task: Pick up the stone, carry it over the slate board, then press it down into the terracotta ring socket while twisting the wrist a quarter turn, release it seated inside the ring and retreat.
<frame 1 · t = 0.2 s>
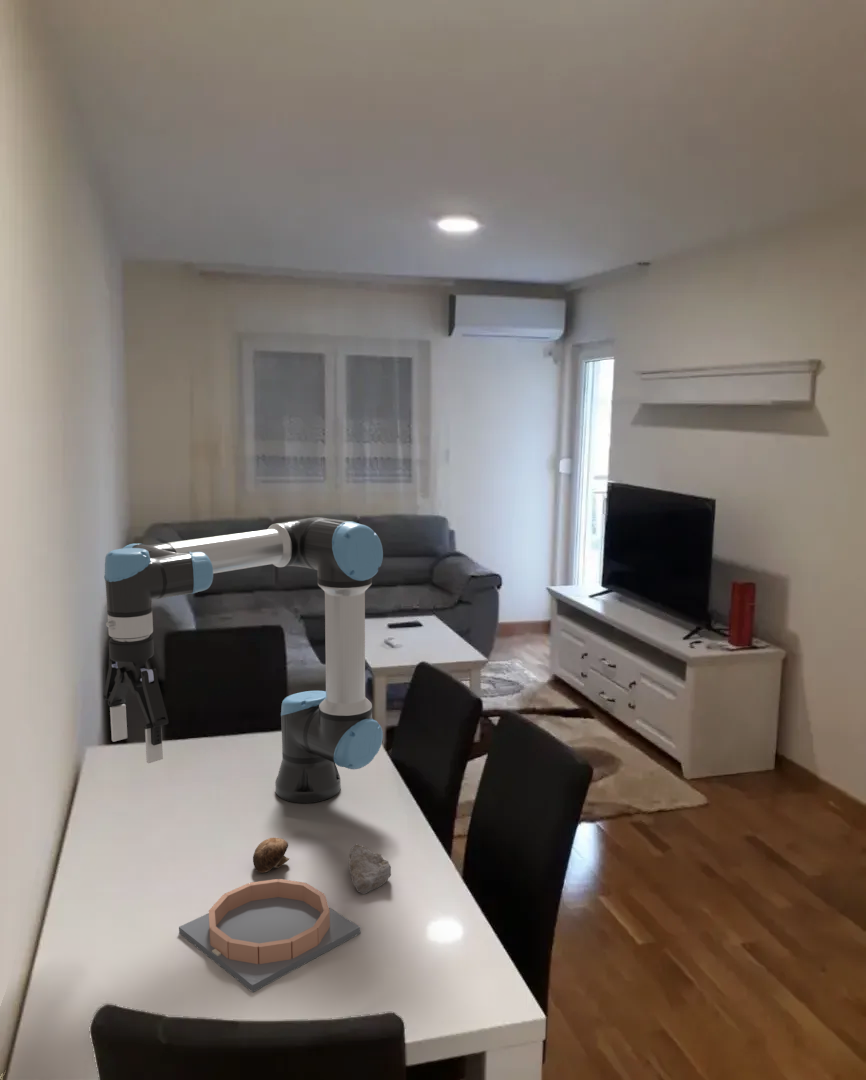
hand: (136, 749, 165), 28 cm above the table, fingers open, 13 cm apart
mushroom: (270, 868, 178), on the table
socket: (269, 933, 156), on the table
stone: (366, 882, 173), on the table
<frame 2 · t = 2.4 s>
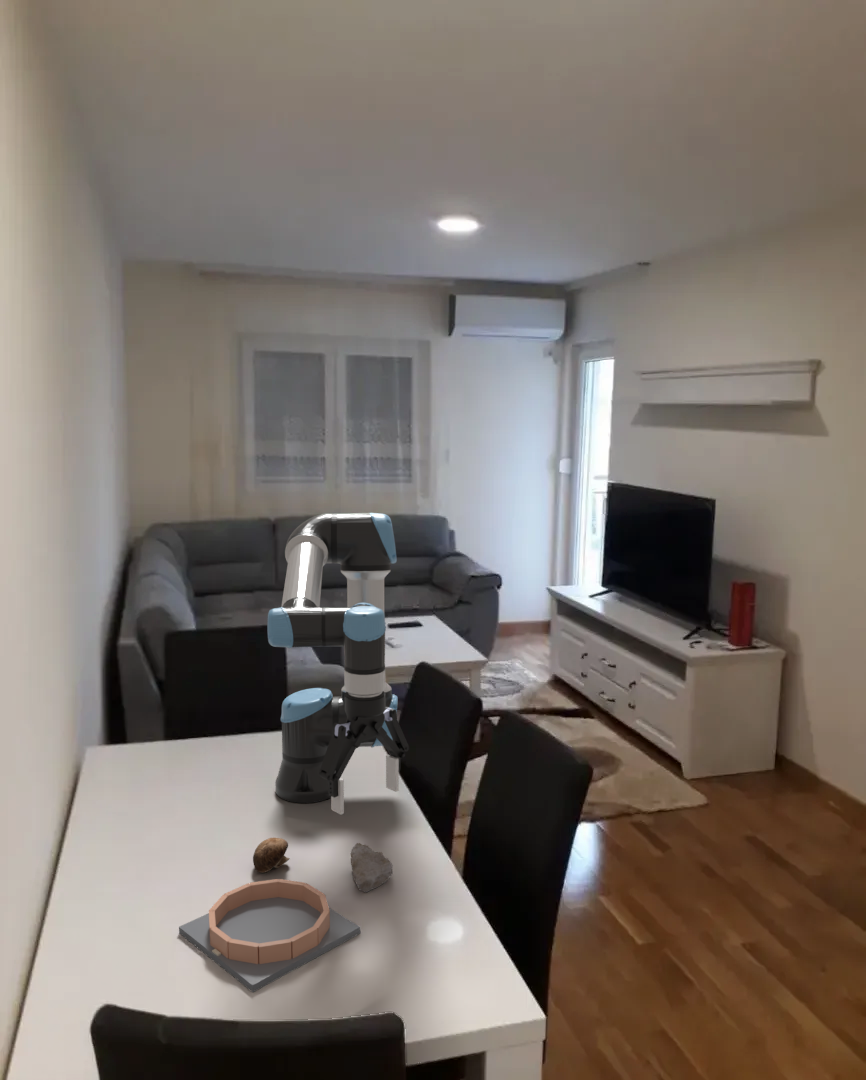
hand: (365, 800, 171), 16 cm above the table, fingers open, 13 cm apart
nothing on the table moved.
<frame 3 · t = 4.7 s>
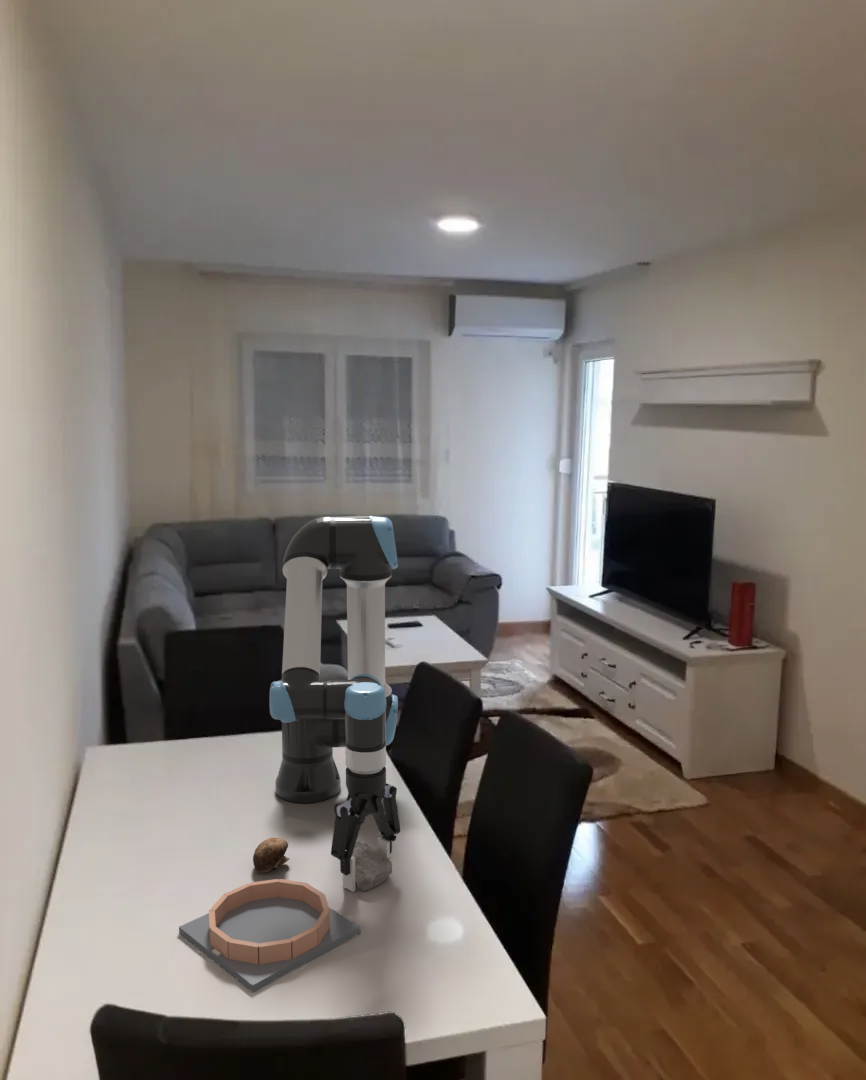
hand: (366, 879, 173), 0 cm above the table, fingers closed on stone, 8 cm apart
stone: (368, 879, 174), on the table, touching gripper
everything else where it was.
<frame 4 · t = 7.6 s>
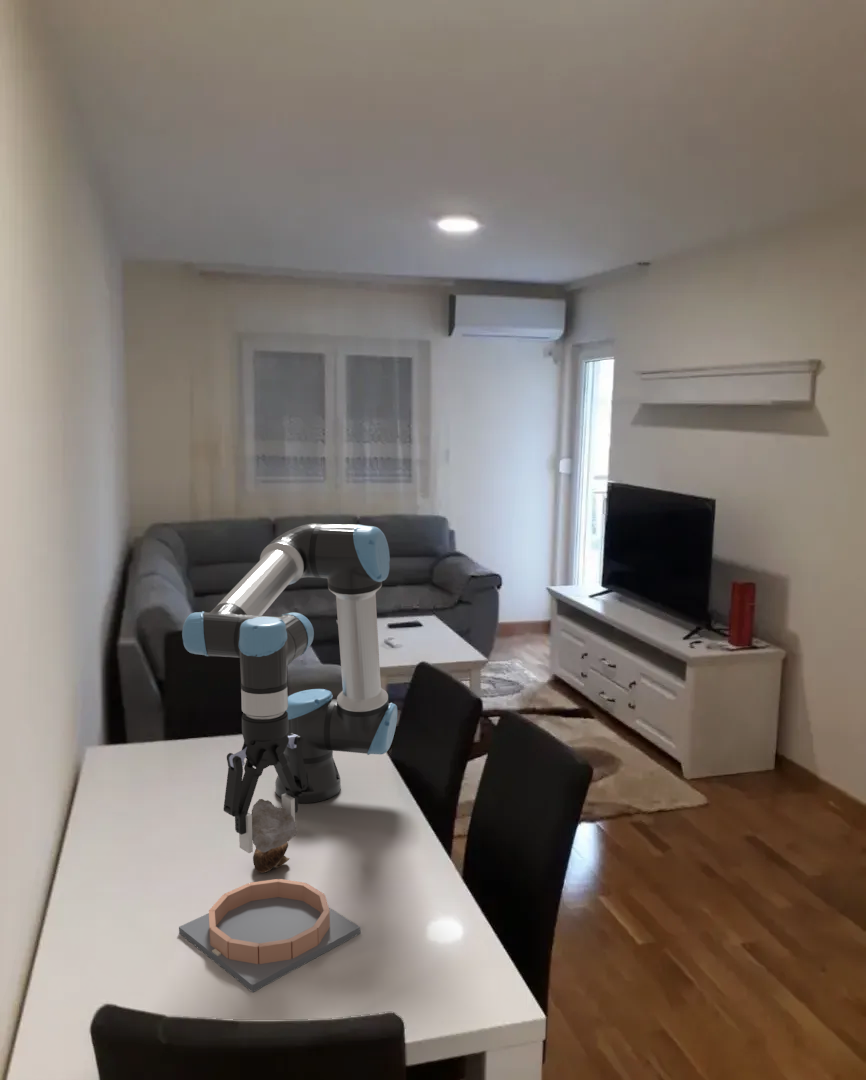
hand: (267, 840, 154), 17 cm above the table, fingers closed on stone, 8 cm apart
stone: (270, 840, 155), point 17 cm above the table, touching gripper
everything else where it was.
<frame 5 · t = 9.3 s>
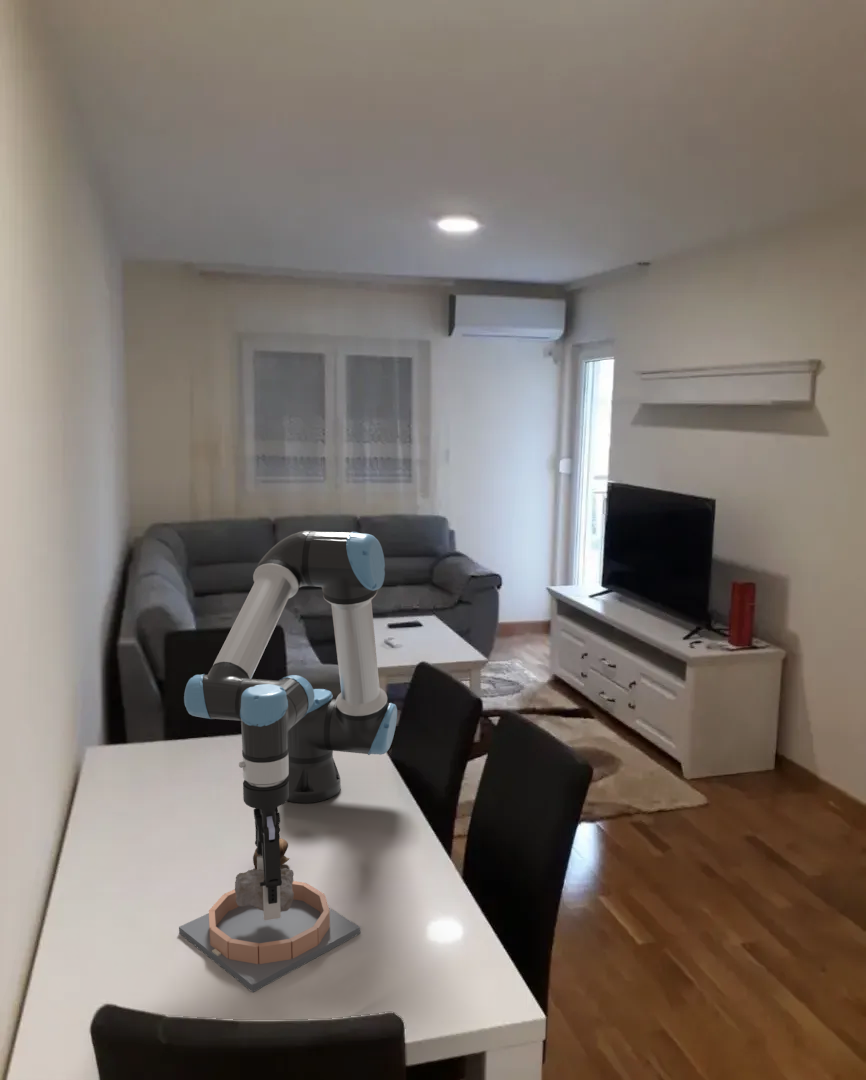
hand: (268, 903, 155), 5 cm above the table, fingers closed on stone, 8 cm apart
stone: (265, 904, 156), point 5 cm above the table, touching gripper
everything else where it was.
when the fingers open (2 cm above the table, at t = 10.7 s): stone stays where it is, resting on socket.
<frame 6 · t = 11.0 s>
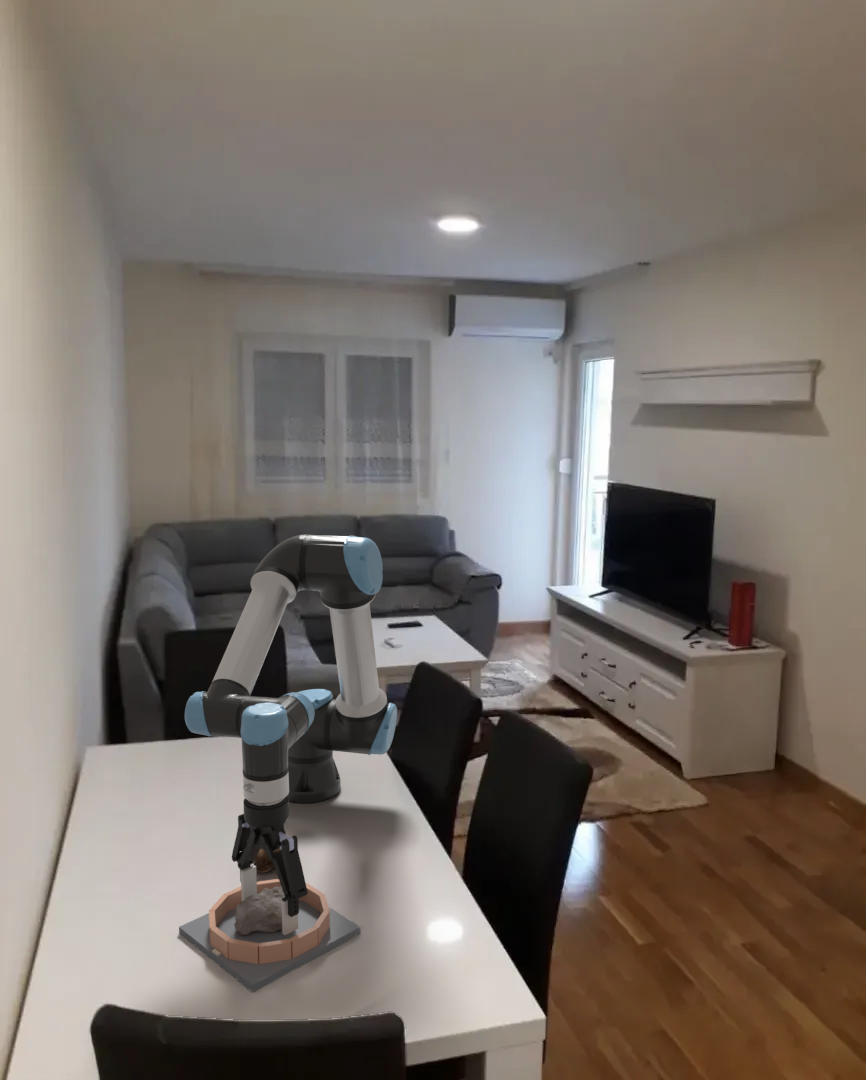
hand: (269, 916, 156), 3 cm above the table, fingers open, 11 cm apart
stone: (265, 926, 157), point 1 cm above the table, touching socket
everything else where it was.
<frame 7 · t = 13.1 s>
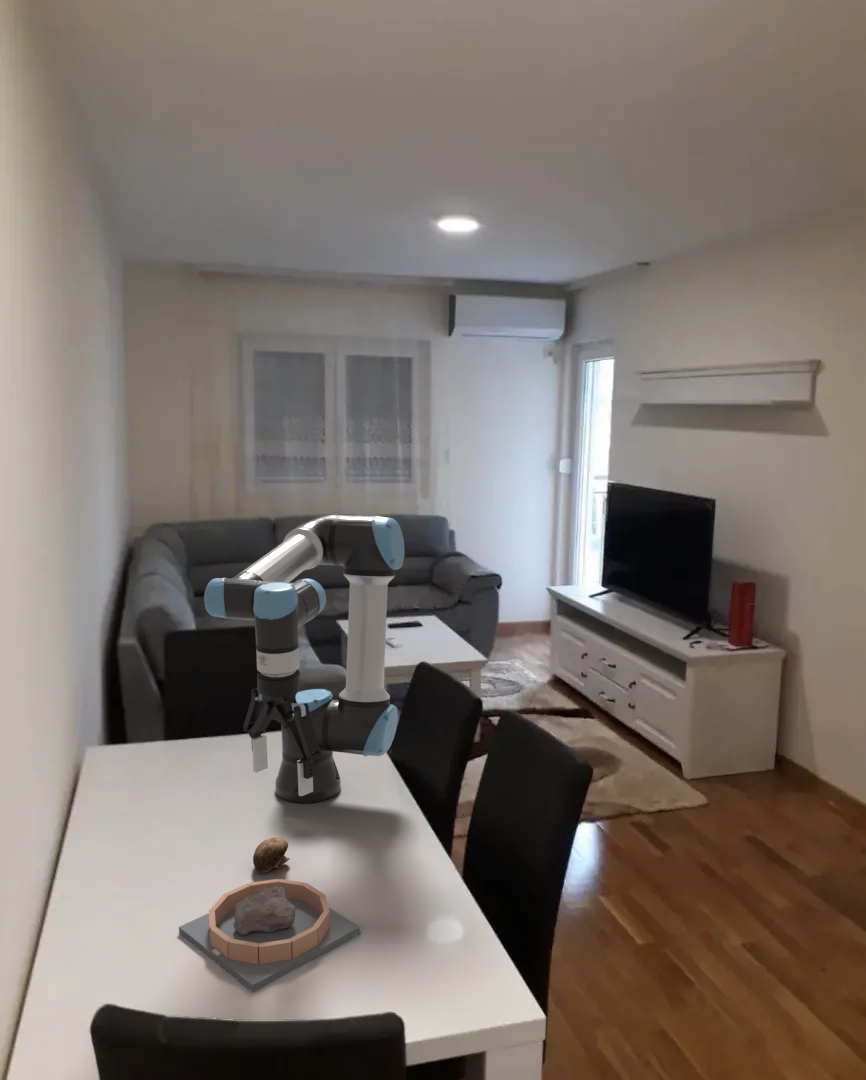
hand: (282, 781, 166), 22 cm above the table, fingers open, 13 cm apart
nothing on the table moved.
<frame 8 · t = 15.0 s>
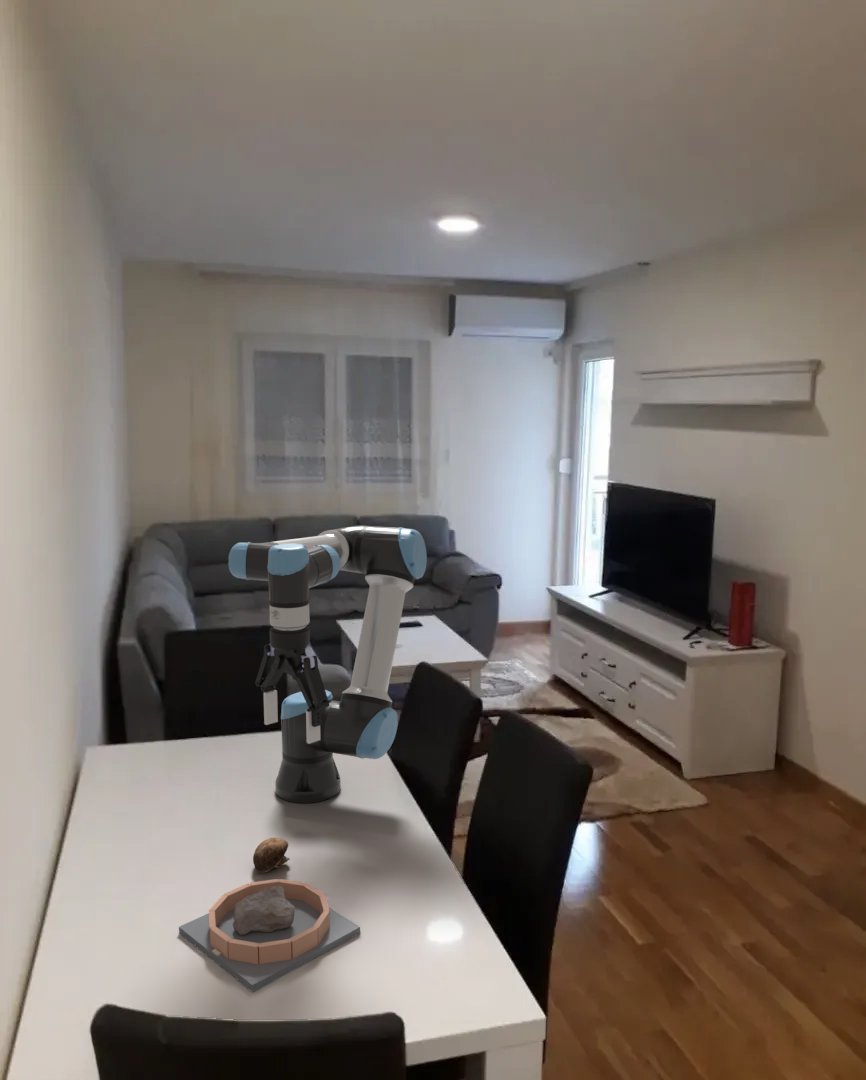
hand: (291, 732, 176), 27 cm above the table, fingers open, 13 cm apart
nothing on the table moved.
at the end: stone inside the target area on the socket (1.2 cm from its centre), point 1.0 cm above the socket's base; stone touching socket; the gripper is holding nothing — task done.
